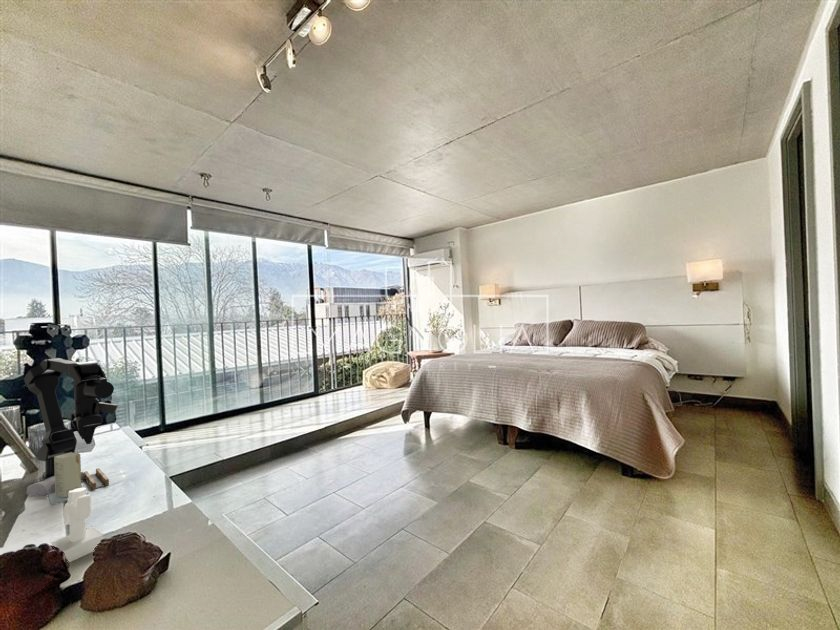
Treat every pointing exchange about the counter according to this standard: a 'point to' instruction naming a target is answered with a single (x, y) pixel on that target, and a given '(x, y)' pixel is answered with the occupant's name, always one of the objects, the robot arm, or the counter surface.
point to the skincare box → (67, 473)
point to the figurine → (78, 526)
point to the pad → (59, 497)
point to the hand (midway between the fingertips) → (86, 441)
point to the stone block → (45, 487)
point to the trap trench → (96, 479)
